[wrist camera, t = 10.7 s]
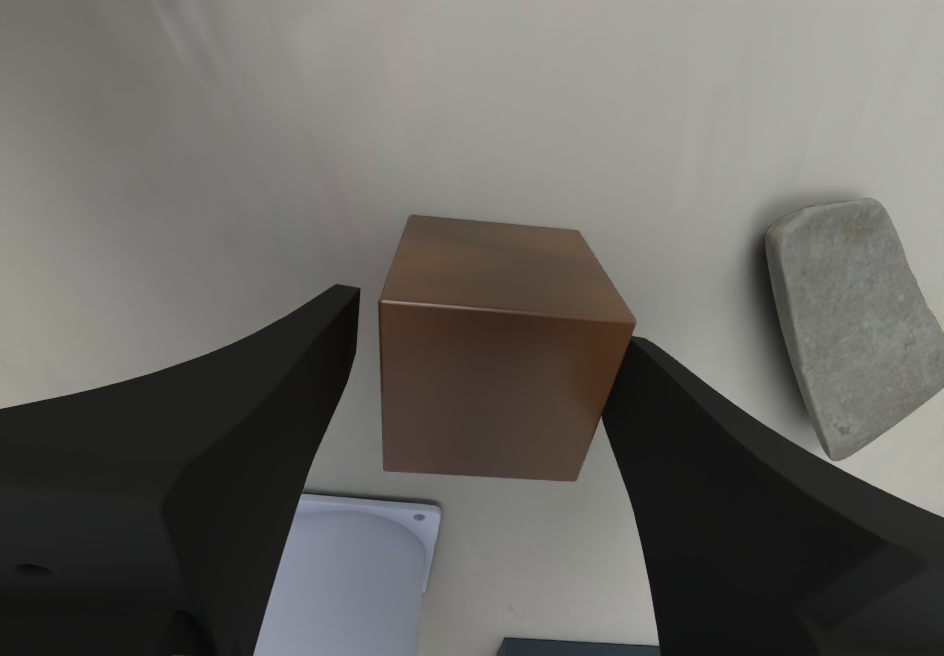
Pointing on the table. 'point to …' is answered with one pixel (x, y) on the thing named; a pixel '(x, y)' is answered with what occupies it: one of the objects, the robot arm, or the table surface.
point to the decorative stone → (852, 321)
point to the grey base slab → (571, 649)
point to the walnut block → (496, 350)
